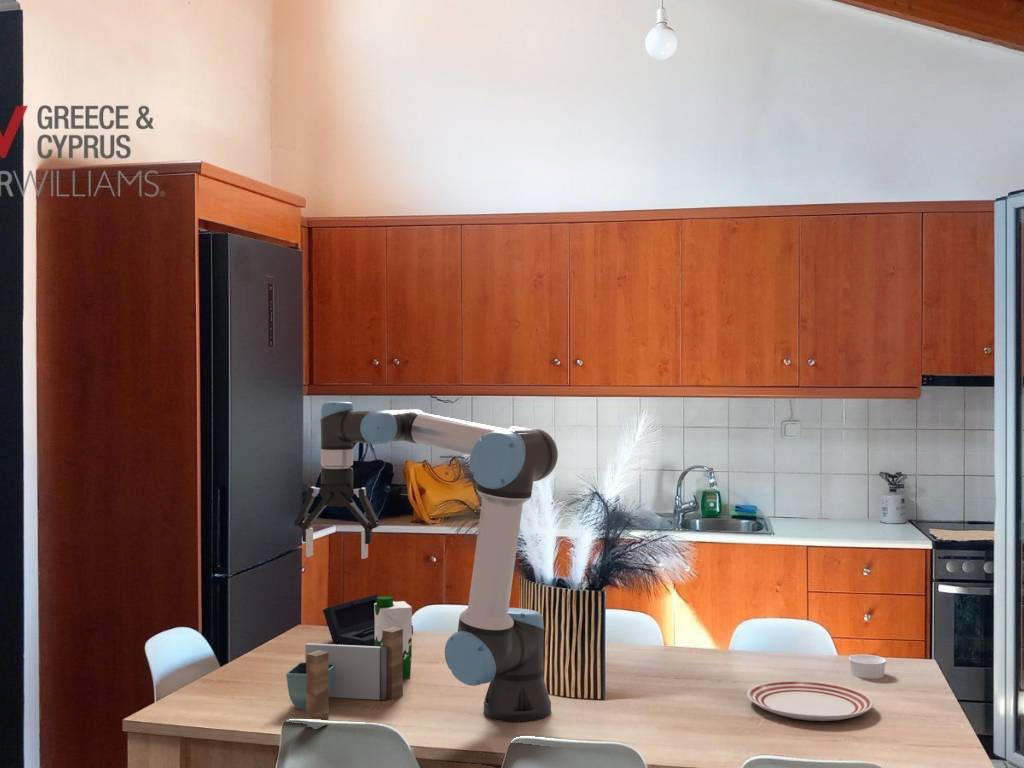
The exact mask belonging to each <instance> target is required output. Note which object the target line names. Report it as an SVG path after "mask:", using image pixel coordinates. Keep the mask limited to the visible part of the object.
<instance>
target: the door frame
mask: <svg viewBox="0 0 1024 768" xmlns="http://www.w3.org/2000/svg"><path fill="white" fill-rule="evenodd" d="M382 647H387V699H386V700H390V701H394V700H396V699H398V698H400V697H403V695H404V694H403V693H404V692H403V691H404V690H403V689H404V688H403V686H404V684H403V681H404V679H403V629H401V628H395V627H392V628H389V629H385V630H382ZM329 698H330V697H329V652H325V651H320V650H318V651H314V652H311V653H308V654H306V710H305V712H306V715H305V716H306V717H305V718H306V719H321V720H329V719H330V718H329V717H330V716H329V715H330V714H329V712H330V711H329Z"/></svg>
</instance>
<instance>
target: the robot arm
mask: <svg viewBox="0 0 1024 768" xmlns="http://www.w3.org/2000/svg"><path fill="white" fill-rule="evenodd" d="M320 410H321V411H320V444H321V445H320V466H322V468H321V469H320V487H316V486H310V487H308V488H307V493H306V497H305V500H304V501H303V504H302V506H301V508H300V510H299V512H298V515H297V516H296V519H295V520H294V524H293V525H294V526H295V527H300V528H301V531H302V532H301V534H302V535H301V539H302V543H305V557H306V558H310V557H311V556H313V555H314V527H311V525H312V524H313V523H314V522H315V520H316V519H317V518H318V517H319V515H321V514H322V512H323V511H324V509H326V508H327V506H328V507H329V508H331V507H332V508H333V507H338V508H342V507H345V508H346V509H348V510H349V511H350V513H351V514H352V515H353V517H355V520H357V521H358V522H359V524H360V525H361V526H362V528H363V529H362V530H361V541H360V542H361V543H360V544H361V547H360V548H361V554H360V555H361V557H360V558H361V560H364V559H367V558H368V557H369V545H370V544H372V542H373V530H374V529H375V528H376V529H377V528H378V527H379V526H381V523H380V521H379V518H378V516H377V514H376V512H375V510H374V508H373V505H372V504H371V502H370V500H369V497H368V493H367V488H366V487H364V486H363V487H361V488H355V487H354V469H353V467H351V466H353V465H354V443H355V444H356V443H358V444H360V443H361V444H371V445H375V446H376V445H386V444H388V443H389V444H390V443H392V442H405V443H412V444H416V445H417V444H418V445H421V446H422V445H423V446H426V447H431V448H436V449H440V450H445V451H450V452H453V453H458V454H462V455H463V454H464V455H467V456H469V468H470V472H471V473H472V474H473V476H472V477H473V479H474V480H475V482H477V483H476V488H475V490H476V492H477V493H478V494H479V496H480V497H481V504H480V505H481V508H480V513H479V514H480V515H479V522H478V529H477V537H476V545H475V551H474V559H473V567H472V575H471V581H470V582H471V583H470V590H469V598H468V605H467V608H466V609H464V610H463V611H461V612H460V614H459V617H458V618H459V619H458V626H457V631H455V632H454V633H452V634H451V635H450V637H448V639H447V641H446V642H445V646H444V658H445V662H446V665H447V667H448V669H449V670H450V671H451V674H452V675H453V676H454V678H455V679H456V680H458V681H459V682H460V683H463V684H464V685H467V686H471V687H472V686H473V687H475V686H480V685H483V684H484V685H485V684H489V685H488V688H487V691H486V694H485V697H484V700H483V714H484V715H485V716H486V717H487V718H488V719H492V720H495V721H498V722H502V723H503V722H504V723H513V724H514V723H515V724H517V723H518V724H519V723H531V722H537V721H541V720H544V719H546V718H548V717H549V716H550V715H551V713H552V701H551V699H550V695H549V693H548V688H547V686H546V681H545V680H544V679H545V678H544V642H545V641H544V640H545V638H544V636H545V635H544V632H545V627H544V617H543V615H542V613H540V612H539V611H536V610H532V609H528V608H520V607H519V608H518V607H510V602H511V601H510V600H511V594H512V593H511V592H512V586H513V578H514V572H515V565H516V557H517V550H518V548H517V547H518V543H519V535H520V527H521V519H522V513H523V506H524V504H525V503H527V502H528V501H529V500H530V499H531V498H532V493H533V487H534V486H533V485H534V482H538V481H540V480H544V479H545V478H546V477H548V476H549V475H550V474H551V473H552V472H553V470H555V467H556V466H557V463H558V457H559V453H558V447H557V444H556V442H555V440H554V438H553V437H552V436H551V435H550V434H549V433H548V432H546V431H545V430H543V429H539V428H535V427H521V426H516V425H515V426H510V427H509V428H503V427H497V426H492V425H487V424H481V423H477V422H472V421H466V420H461V419H457V418H451V417H446V416H441V415H436V414H430V413H426V412H424V410H422V409H417V408H405V409H391V410H389V409H388V410H387V409H385V410H384V409H383V410H355V409H354V404H353V402H351V401H325V402H323V403H322V405H321V409H320ZM318 494H319V495H320V496H321V498H322V499H321V501H320V502H319V503H318V505H317V506H316V507H315V508H314V510H313V511H312V512H311V513H310V514H309V516H308V517H307V515H308V513H309V510H310V509H311V506H312V505H313V503H314V500H315V498H316V497H317V496H318ZM354 495H355V496H356V497H357V498H358V499H359V502H360V505H361V506H362V507H363V508H362V509H363V510H364V512H365V514H366V516H367V517H366V516H365V515H364V513H363V511H361V509H360V508H359V507H358V505H357V503H356V502H355V500H354V499H353V497H354ZM306 517H307V518H306Z"/></svg>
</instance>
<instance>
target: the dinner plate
mask: <svg viewBox="0 0 1024 768" xmlns="http://www.w3.org/2000/svg"><path fill="white" fill-rule="evenodd" d="M746 694H747V698H748V699H749V701H750V702H752V703H753V704H755V705H756V706H757V707H759V708H761V709H763V710H766V711H768V712H770V713H773V714H775V715H778V716H781V717H786V718H790V719H794V720H802V721H808V722H809V721H810V722H833V721H841V720H847V719H852V718H855V717H857V716H861V715H863V714H865V713H867V712H868V711H870V710H871V709H872V707H873V706H874V701H873V699H872V698H871V697H870V696H868V695H867V694H865V693H864V692H862V691H859V690H857V689H854V688H851V687H848V686H843V685H838V684H835V683H827V682H821V681H815V680H813V681H812V680H778V681H776V680H775V681H769V682H764V683H759V684H757V685H755V686H752V687H751V688H749V689H748V690H747V693H746Z"/></svg>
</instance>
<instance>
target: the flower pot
mask: <svg viewBox="0 0 1024 768" xmlns="http://www.w3.org/2000/svg"><path fill="white" fill-rule="evenodd" d="M334 673H335V664H329V696H330V694H331V691H332V687H333V682H334ZM285 674H286V676H285V677H286V683H287V684H286V685H287V691H288V695H289V698H290V700H291V703H292V704H293V706H294V707H295V709H296V710H300V711H303V710H304V711H306V663H305V661H304V662H301V661H300V662H299V663H297V664H296V665H295V666H293V667H292V668H291V669H289V670H288V671H287V672H286V673H285Z"/></svg>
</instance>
